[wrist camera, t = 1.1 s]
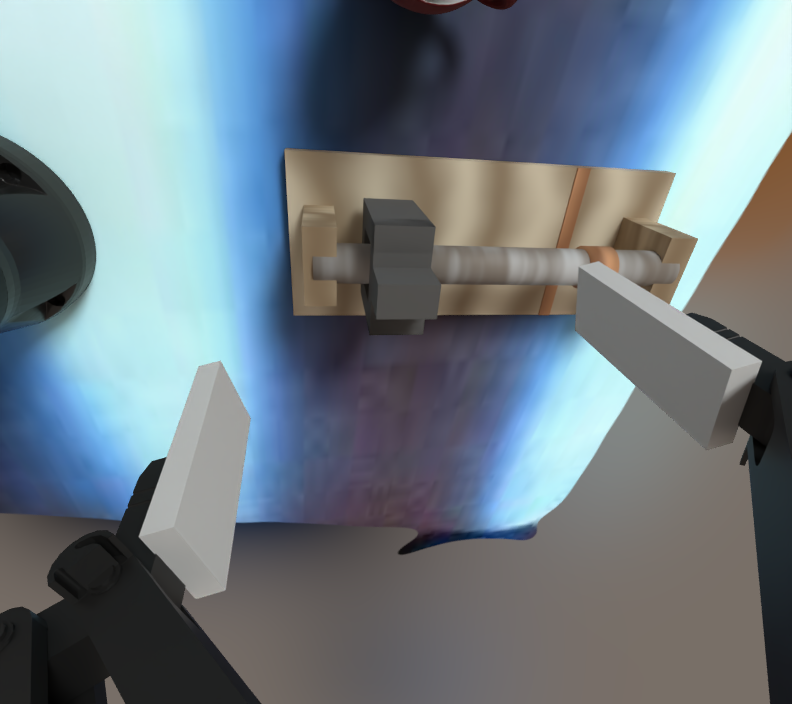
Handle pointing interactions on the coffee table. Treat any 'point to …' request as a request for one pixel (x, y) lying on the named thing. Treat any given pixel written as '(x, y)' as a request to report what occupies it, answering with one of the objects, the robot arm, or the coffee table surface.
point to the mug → (448, 5)
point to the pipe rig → (481, 229)
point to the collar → (398, 267)
